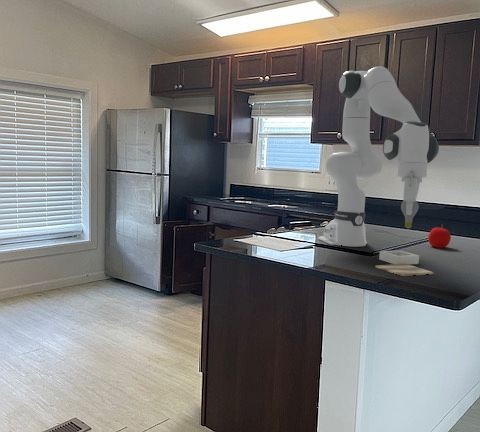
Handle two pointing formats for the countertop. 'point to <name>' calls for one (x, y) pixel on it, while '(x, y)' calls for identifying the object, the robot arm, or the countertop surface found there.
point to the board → (404, 269)
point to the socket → (399, 257)
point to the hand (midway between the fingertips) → (409, 213)
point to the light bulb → (409, 217)
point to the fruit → (439, 237)
